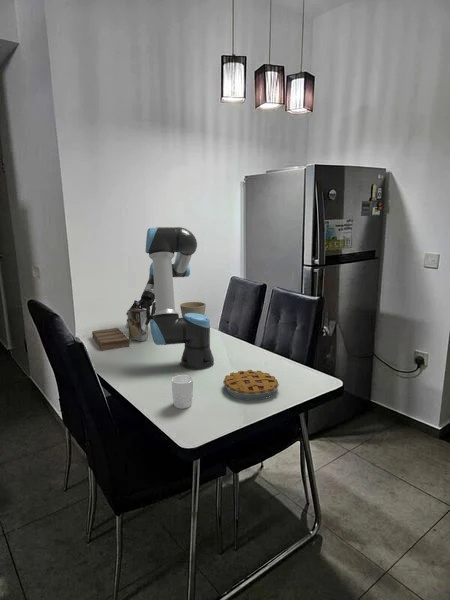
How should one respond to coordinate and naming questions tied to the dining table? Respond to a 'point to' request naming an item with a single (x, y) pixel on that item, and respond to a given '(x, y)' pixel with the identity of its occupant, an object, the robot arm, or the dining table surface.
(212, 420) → the dining table surface
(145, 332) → the coffee box
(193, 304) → the plant pot
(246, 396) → the pie
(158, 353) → the dining table surface
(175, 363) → the dining table surface
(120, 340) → the walnut stand
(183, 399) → the white cup
